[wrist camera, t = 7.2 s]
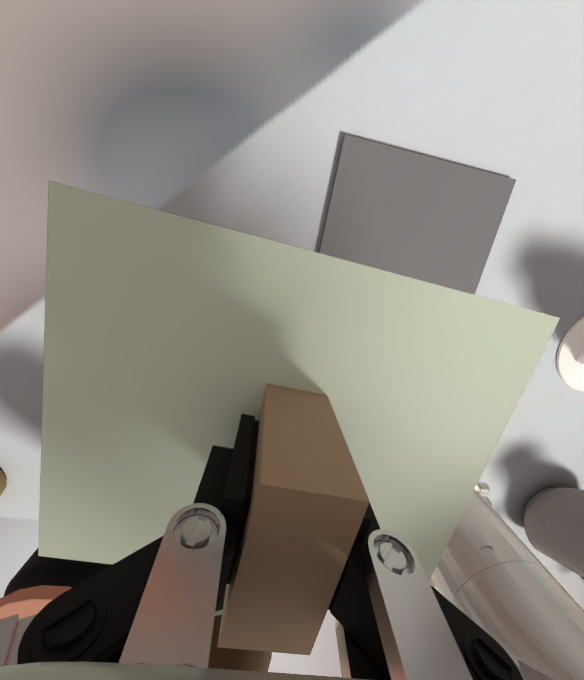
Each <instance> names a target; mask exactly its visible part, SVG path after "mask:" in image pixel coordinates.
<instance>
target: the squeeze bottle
mask: <svg viewBox="0 0 584 680" xmlns="http://www.w3.org/2000/svg"><path fill="white" fill-rule="evenodd" d="M5 488H6V477H5V475H4V473H3V471H1V470H0V495H1V494H2V492H3V491H4V489H5Z"/></svg>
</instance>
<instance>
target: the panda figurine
mask: <svg viewBox="0 0 584 680" xmlns="http://www.w3.org/2000/svg"><path fill="white" fill-rule="evenodd" d="M556 367H557V371H558V374H559V376H560V378H561V379H562V381H563V382H564V383H565V384H567V385H568V386H570V387H572V388H574V389H577V390H580V391H584V317H583V318H581V319H580V320H579V321H577V322H576V323H575V324H574V325H573V326H572V327H571V328H570V329H569V331H568V332H567V333H566V335H565V336H564V338H563V339H562V341H561V343H560V346H559V349H558V352H557V358H556Z"/></svg>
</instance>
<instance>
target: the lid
mask: <svg viewBox="0 0 584 680" xmlns="http://www.w3.org/2000/svg"><path fill="white" fill-rule="evenodd" d="M48 189H49V190H48V225H47V260H46V295H45V331H44V367H43V402H42V438H41V474H40V510H39V547H38V556H43V557H51V558H60V559H69V560H77V561H86V562H95V563H103V564H112V565H113V564H115V563H116V562H118V561H120V560H122V559H123V558H125V557H127V556H128V555H130V554H132V553H134V552H135V551H137V550H139V549H141V548H142V547H144V546H146V545H148V544H149V543H151V542H153V541H155V540H156V539H158V538H160V537H162V536H163V535H164V534H165V531H166V528H167V525H168V523H169V521H170V519H171V518H172V516H173V515H174V514H175V513H176V512H177V511H178V510H179V509H181V508H183V507H185V506H187V505H190V504H193V502H194V499H195V496H196V493H197V491H198V488H199V485H200V482H201V479H202V476H203V473H204V470H205V467H206V464H207V461H208V458H209V455H210V452H211V449H212V446H213V445H215V446H221V447H227V448H233V449H234V445H235V440H236V436H237V431H238V427H239V423H240V418H241V414H246V415H251V416H255V420H257V421H259V428H258V438H257V449H256V459H255V470H254V480H253V490H252V498H251V504H250V509H249V513H248V517H247V520H246V524H245V528H244V532H243V536H242V540H241V543H240V547H239V551H238V555H237V559H236V563H235V566H234V570H233V574H232V578H231V582H230V584H227V585H226V592H225V598H224V605H223V612H222V619H221V625H220V632H219V639H218V646H217V647H220V648H231V649H243V650H255V651H267V652H279V653H291V654H303V655H310V653H311V651H312V648H313V646H314V643H315V641H316V638H317V635H318V633H319V630H320V628H321V625H322V623H323V620H324V618H325V615H326V612H327V610H328V607H329V605H330V602H331V600H332V597H333V594H334V592H335V589H336V587H337V584H338V582H339V579H340V577H341V574H342V571H343V569H344V566H345V564H346V561H347V559H348V556H349V553H350V551H351V548H352V546H353V543H354V541H355V538H356V536H357V533H358V530H359V528H360V525H361V523H362V520H363V518H364V515H365V512H366V510H367V507H368V505H369V502H370V504H371V506H372V509H373V511H374V514H375V516H376V519H377V522H378V524H379V527H380V529H381V530H387V531H390V532H393V533H395V534H396V535H398V536H400V537H401V538H402V539H403V540H405V541H406V542H407V543H408V544H409V545H410V547H411V548H412V549H413V550H414V552H415V554H416V555H417V557H418V559H419V561H420V563H421V566H422V568H423V570H424V572H425V574H426V577H427V579H428V581H429V580H430V578H431V576H432V574H433V572H434V570H435V568H436V566H437V564H438V562H439V560H440V558H441V556H442V554H443V552H444V550H445V548H446V546H447V544H448V542H449V540H450V538H451V536H452V534H453V532H454V530H455V528H456V526H457V524H458V522H459V520H460V518H461V516H462V514H463V512H464V510H465V508H466V506H467V504H468V502H469V500H470V498H471V496H472V494H473V492H474V490H475V488H476V486H477V484H478V482H479V480H480V478H481V476H482V474H483V472H484V470H485V468H486V466H487V464H488V462H489V460H490V458H491V456H492V454H493V452H494V450H495V448H496V446H497V444H498V442H499V440H500V438H501V436H502V434H503V432H504V430H505V428H506V426H507V424H508V422H509V420H510V418H511V416H512V414H513V411H514V409H515V407H516V405H517V403H518V401H519V399H520V397H521V395H522V393H523V391H524V389H525V387H526V385H527V383H528V381H529V379H530V377H531V375H532V373H533V371H534V369H535V367H536V365H537V363H538V361H539V359H540V357H541V355H542V353H543V351H544V349H545V347H546V345H547V343H548V341H549V339H550V337H551V335H552V333H553V331H554V329H555V327H556V325H557V323H558V321H559V319H560V318H559V317H555V316H551V315H548V314H544V313H540V312H536V311H533V310H529V309H525V308H521V307H518V306H514V305H510V304H507V303H503V302H499V301H495V300H492V299H488V298H484V297H481V296H477V295H473V294H469V293H466V292H462V291H458V290H454V289H451V288H447V287H443V286H440V285H436V284H432V283H428V282H425V281H421V280H417V279H414V278H410V277H406V276H402V275H399V274H395V273H391V272H387V271H384V270H380V269H376V268H373V267H369V266H365V265H361V264H358V263H354V262H350V261H347V260H343V259H339V258H335V257H332V256H328V255H324V254H320V253H317V252H313V251H309V250H306V249H302V248H298V247H294V246H291V245H287V244H283V243H279V242H276V241H272V240H268V239H265V238H261V237H257V236H253V235H250V234H246V233H242V232H239V231H235V230H231V229H227V228H224V227H220V226H216V225H212V224H209V223H205V222H201V221H198V220H194V219H190V218H186V217H183V216H179V215H175V214H172V213H168V212H164V211H160V210H157V209H153V208H149V207H145V206H142V205H138V204H134V203H131V202H126V201H123V200H119V199H115V198H112V197H108V196H105V195H101V194H97V193H93V192H90V191H86V190H82V189H78V188H75V187H71V186H67V185H64V184H60V183H56V182H52V181H49V188H48Z"/></svg>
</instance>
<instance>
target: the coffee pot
mask: <svg viewBox="0 0 584 680" xmlns="http://www.w3.org/2000/svg"><path fill="white" fill-rule="evenodd" d="M524 516H525V517H524V529H525V532H526V535H527V537H528V539H529V542H530V543H531V544H532V545H533V547H534V548H535V549H536V550H538V551H540V552H541V553H543V554H545V555H546V556H548V557H550V558H551V559H553V560H555V561H556V562H558V563H560V564H561V565H563V566H565V567H567V568H568V569H570V570H572V571H573V572H575V573H577V574H578V575H580V576H582V577H583V578H584V490H580V489H577V488H560V487H553V488H548V489H545V490H543V491H540V492H539V493H537V494H536V495H534V496H533V497H532V498H531V499H530V500H529V502H528V503H527V505H526V508H525V511H524Z"/></svg>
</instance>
